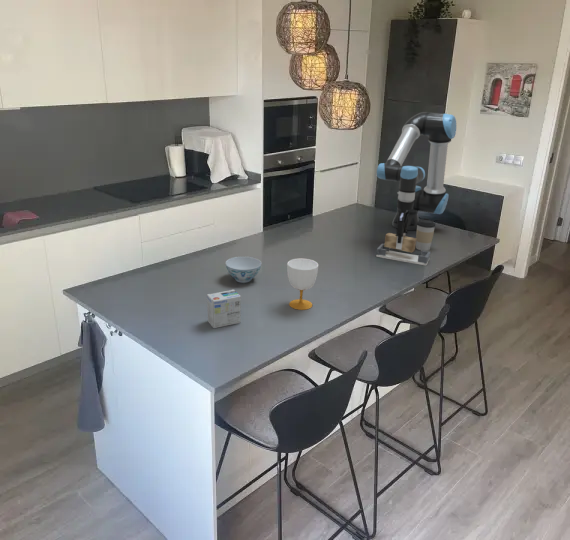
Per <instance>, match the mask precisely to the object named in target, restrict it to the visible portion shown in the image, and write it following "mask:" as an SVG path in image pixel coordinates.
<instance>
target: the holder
mask: <svg viewBox="0 0 570 540" xmlns="http://www.w3.org/2000/svg"><path fill="white" fill-rule="evenodd" d="M384 244H385V243H381V244H380V245H379V246H378V247H377V248H376V255H375V257H377V258H381V259H388V260H392V261H396V262H397V261H398V262H404V263H410V264H414V265H420V266H427V265H428V263H429V262H430V259H431V254H432V251H430V250H428V251H422V250H420V251H421V253H420V254H418V255H417V254H410V253H405V252H400V251H399V252H398V251H394V250H390V248H388V247H384Z"/></svg>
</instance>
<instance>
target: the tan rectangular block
mask: <svg viewBox="0 0 570 540" xmlns="http://www.w3.org/2000/svg"><path fill="white" fill-rule="evenodd" d="M396 234H397V233H392V232H388V233H386V234H385V237H384V243H383V244H384V247H388V248H389V249H393V250H398V251H400V250H399V249H396V242H397V236H396ZM401 251H403V252H407V253H413V252H416V237H410V236H407V235H405V236H403V243H402V250H401Z"/></svg>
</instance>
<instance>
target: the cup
mask: <svg viewBox="0 0 570 540" xmlns="http://www.w3.org/2000/svg"><path fill="white" fill-rule="evenodd" d="M286 268H287V269H286V270H287V279H288V281H289V284H290V285H291V287H292V288H294V289H295V290H297V291H299V298H298V299H293V300H291V301H289V303H288V305H289V307H290V308H292V309H295V310H299V311H305V310H306V311H307V310H309V309H311V308H312V307H313V303H312V302H311V301H309V300H307V299H303V294H304V291H306V290H307V291H308V290H310V289H311V288H312V287H313V286H314V285H315V283H316V280H317V276H318V272H319V263H318V262H317V261H315V260H313V259H309V258H292V259H290V260H289V261H287V263H286Z"/></svg>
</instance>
